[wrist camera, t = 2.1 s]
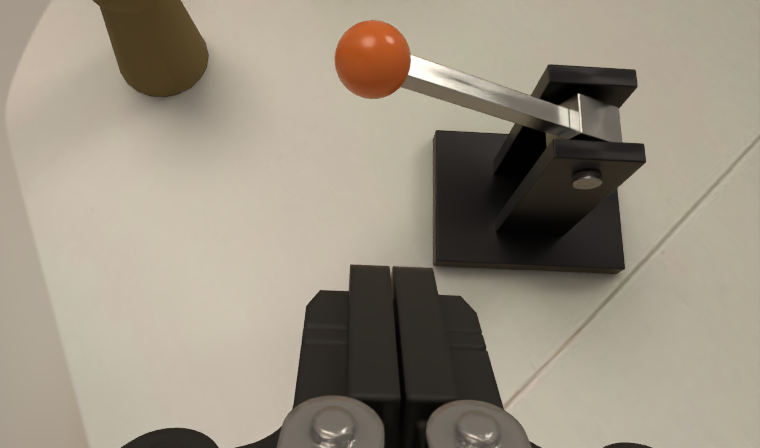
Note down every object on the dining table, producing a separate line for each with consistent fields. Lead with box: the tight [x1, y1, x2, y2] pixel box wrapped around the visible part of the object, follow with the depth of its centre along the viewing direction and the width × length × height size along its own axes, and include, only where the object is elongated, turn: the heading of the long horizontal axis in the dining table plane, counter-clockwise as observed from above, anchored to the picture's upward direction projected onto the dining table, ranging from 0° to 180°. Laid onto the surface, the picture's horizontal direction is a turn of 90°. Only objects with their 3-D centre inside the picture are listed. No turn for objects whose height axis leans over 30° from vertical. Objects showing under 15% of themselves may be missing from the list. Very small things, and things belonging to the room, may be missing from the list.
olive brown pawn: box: [93, 0, 208, 97], centre depth 40 cm, size 6×6×11 cm
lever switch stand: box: [433, 64, 646, 274], centre depth 37 cm, size 12×9×13 cm
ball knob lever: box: [335, 20, 622, 147], centre depth 30 cm, size 15×3×3 cm, turn 87°
